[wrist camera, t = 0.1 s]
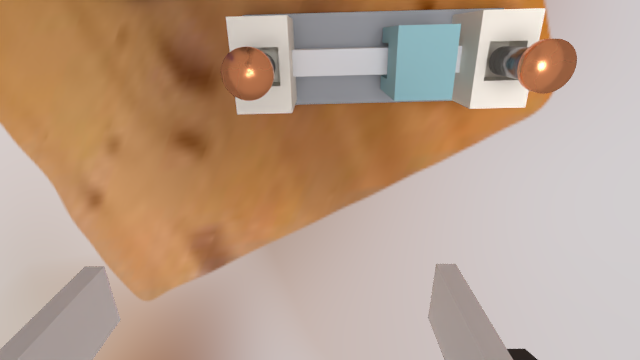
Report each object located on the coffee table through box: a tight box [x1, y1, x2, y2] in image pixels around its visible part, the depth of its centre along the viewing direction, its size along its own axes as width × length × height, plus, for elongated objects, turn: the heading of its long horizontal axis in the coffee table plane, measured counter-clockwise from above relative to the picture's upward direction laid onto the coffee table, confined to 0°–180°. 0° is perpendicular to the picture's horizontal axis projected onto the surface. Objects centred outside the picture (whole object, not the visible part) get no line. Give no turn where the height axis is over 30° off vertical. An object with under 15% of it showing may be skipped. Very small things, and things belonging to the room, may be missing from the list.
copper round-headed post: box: [489, 39, 577, 93], centre depth 27 cm, size 4×4×7 cm
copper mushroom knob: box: [221, 47, 275, 101], centre depth 27 cm, size 4×4×7 cm
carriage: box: [380, 24, 461, 101], centre depth 32 cm, size 6×5×7 cm
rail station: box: [226, 8, 546, 114], centre depth 33 cm, size 9×26×8 cm, turn 91°
